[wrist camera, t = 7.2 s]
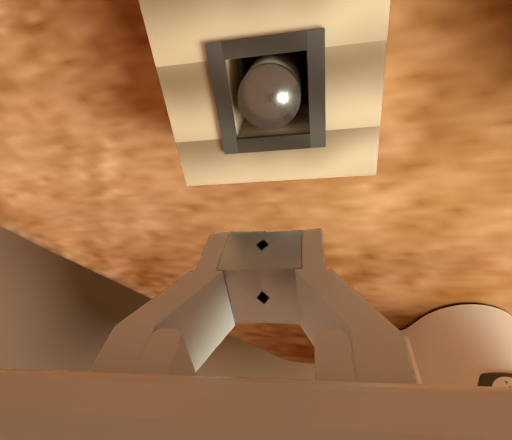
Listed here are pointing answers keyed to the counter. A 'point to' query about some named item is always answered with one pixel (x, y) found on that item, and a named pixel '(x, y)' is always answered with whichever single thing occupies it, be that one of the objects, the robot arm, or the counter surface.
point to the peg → (271, 91)
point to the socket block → (237, 65)
